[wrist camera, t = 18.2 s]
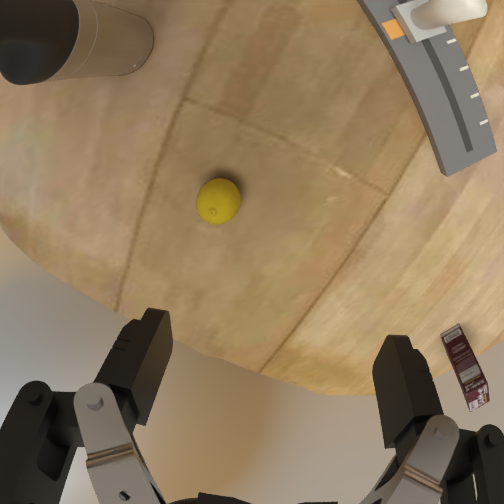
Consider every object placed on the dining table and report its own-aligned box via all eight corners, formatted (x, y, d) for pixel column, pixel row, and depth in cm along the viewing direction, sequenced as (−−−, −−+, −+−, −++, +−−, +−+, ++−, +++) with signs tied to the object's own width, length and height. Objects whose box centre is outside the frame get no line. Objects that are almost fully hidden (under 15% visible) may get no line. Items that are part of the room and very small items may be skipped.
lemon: (202, 173, 42) (185, 192, 35) (242, 170, 42) (233, 189, 35) (207, 209, 45) (193, 235, 38) (245, 208, 44) (238, 234, 37)
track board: (350, -9, 27) (353, -14, 26) (409, -28, 24) (415, -32, 22) (441, 172, 38) (447, 177, 36) (490, 148, 35) (497, 151, 33)
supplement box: (465, 344, 54) (490, 401, 41) (447, 355, 56) (469, 413, 42) (459, 322, 51) (488, 382, 38) (439, 333, 53) (464, 396, 39)
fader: (390, 9, 26) (439, -20, 14) (420, -1, 24) (476, -27, 12) (410, 43, 28) (468, 31, 16) (439, 33, 26) (502, 21, 14)
